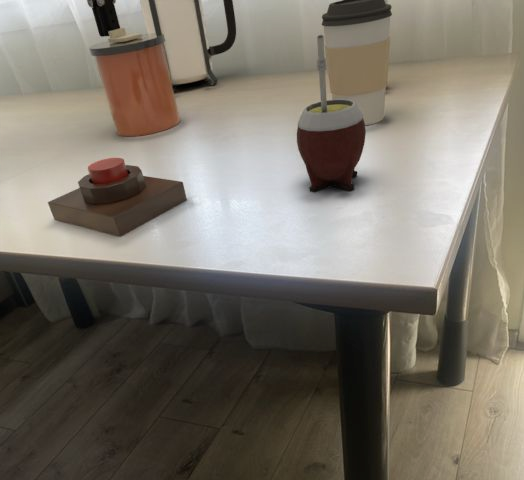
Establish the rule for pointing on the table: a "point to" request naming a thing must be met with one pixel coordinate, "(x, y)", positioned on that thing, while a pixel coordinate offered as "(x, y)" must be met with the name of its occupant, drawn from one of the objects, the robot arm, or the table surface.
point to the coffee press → (187, 37)
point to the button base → (118, 202)
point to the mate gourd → (330, 137)
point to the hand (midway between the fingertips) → (110, 34)
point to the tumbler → (137, 84)
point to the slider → (121, 36)
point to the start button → (107, 170)
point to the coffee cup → (358, 53)
